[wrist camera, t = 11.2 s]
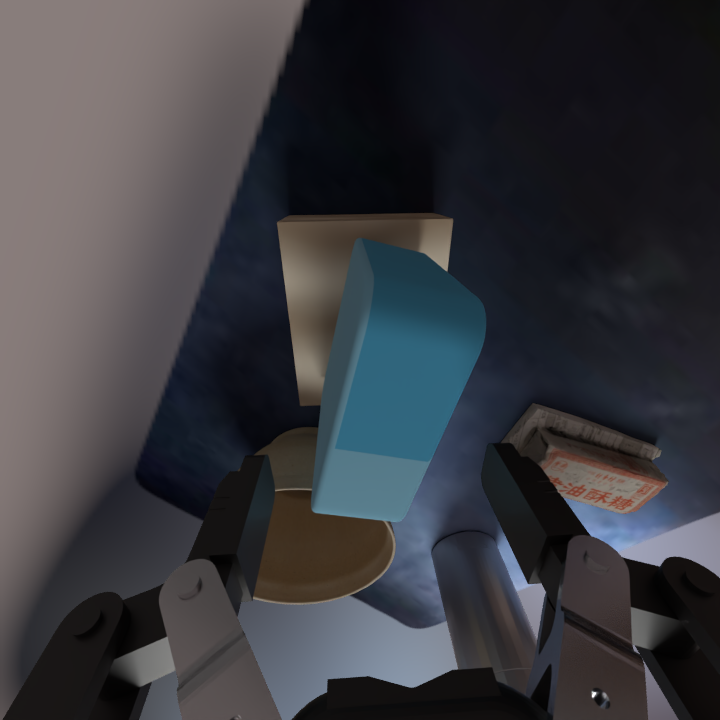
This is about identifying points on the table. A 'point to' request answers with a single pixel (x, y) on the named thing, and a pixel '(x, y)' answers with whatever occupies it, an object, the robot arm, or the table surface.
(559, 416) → the packaged product
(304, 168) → the table surface
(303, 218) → the stand
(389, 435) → the blue product box
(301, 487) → the planter bowl
